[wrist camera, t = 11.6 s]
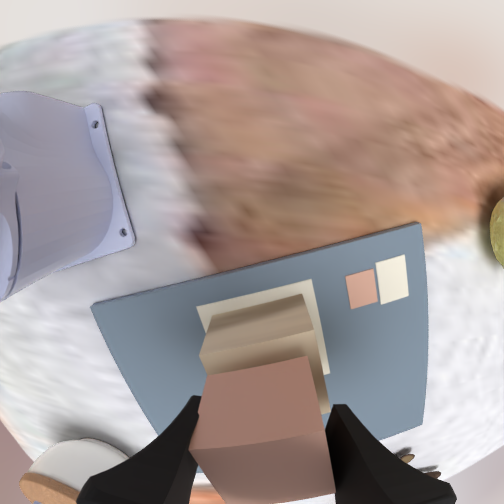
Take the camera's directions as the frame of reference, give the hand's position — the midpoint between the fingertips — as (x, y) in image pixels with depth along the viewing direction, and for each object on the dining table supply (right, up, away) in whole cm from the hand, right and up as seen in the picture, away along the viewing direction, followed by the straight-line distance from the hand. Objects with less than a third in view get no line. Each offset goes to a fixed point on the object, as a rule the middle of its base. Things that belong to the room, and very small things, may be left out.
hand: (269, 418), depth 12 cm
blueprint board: (+1, -2, +8) cm, 8 cm away
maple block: (0, +2, +7) cm, 7 cm away
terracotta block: (0, 0, +1) cm, 1 cm away
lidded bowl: (-16, -14, +12) cm, 25 cm away
